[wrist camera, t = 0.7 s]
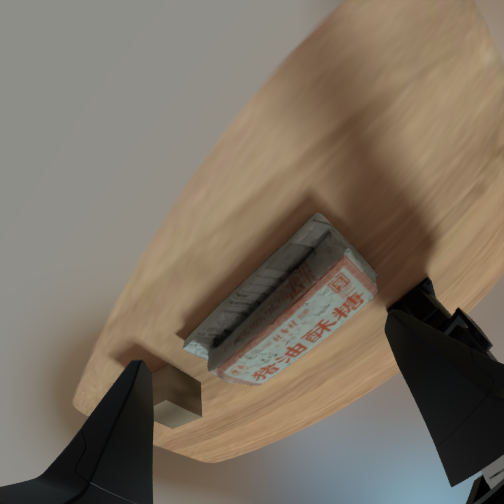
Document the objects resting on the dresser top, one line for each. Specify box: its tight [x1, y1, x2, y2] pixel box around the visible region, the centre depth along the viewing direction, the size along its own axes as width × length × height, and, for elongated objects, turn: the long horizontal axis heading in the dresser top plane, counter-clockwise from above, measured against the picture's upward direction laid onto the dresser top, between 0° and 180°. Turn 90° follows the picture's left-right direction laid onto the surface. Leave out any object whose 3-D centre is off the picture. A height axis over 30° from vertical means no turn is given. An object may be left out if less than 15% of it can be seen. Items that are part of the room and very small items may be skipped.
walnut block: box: [151, 364, 202, 429], centre depth 27 cm, size 5×5×5 cm
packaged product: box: [183, 213, 378, 385], centre depth 24 cm, size 18×5×10 cm
